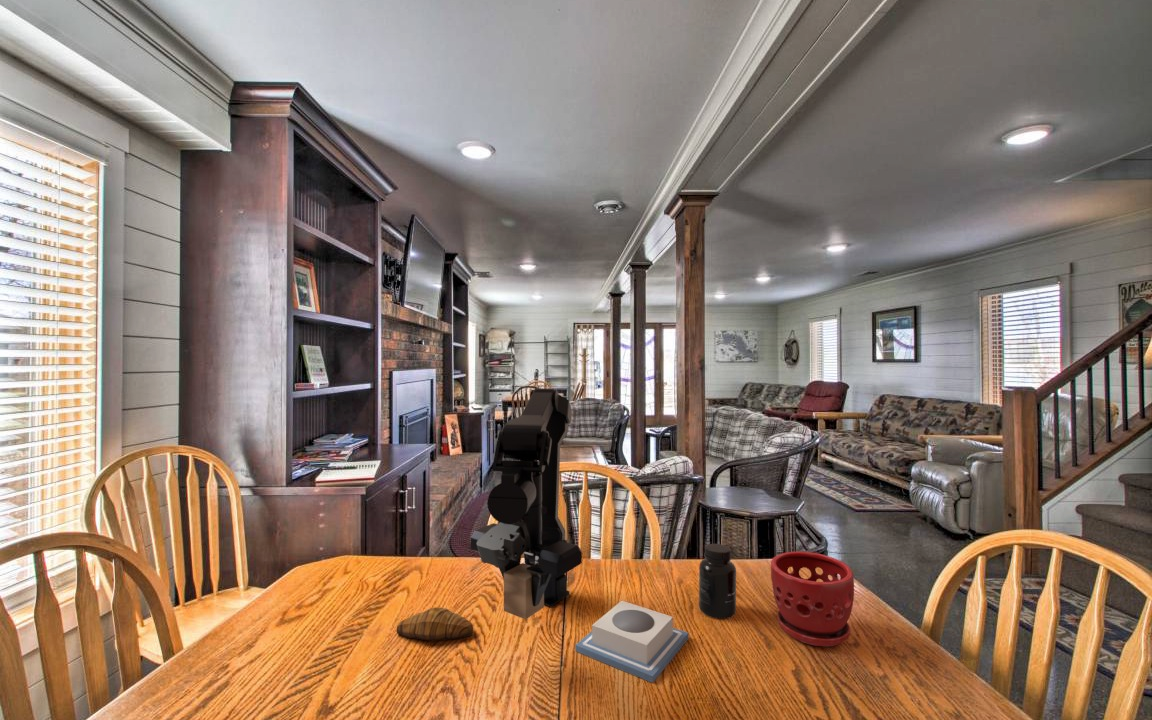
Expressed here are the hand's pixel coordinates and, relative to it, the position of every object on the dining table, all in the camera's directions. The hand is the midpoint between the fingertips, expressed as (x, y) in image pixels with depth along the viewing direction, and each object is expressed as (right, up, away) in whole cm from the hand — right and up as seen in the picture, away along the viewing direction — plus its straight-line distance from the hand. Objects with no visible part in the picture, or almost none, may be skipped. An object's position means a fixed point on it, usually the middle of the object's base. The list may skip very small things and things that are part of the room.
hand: (524, 601), depth 78 cm
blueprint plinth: (+18, -10, +5) cm, 21 cm away
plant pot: (+49, -10, +8) cm, 51 cm away
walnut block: (0, -1, 0) cm, 1 cm away
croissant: (-17, -10, +8) cm, 21 cm away
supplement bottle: (+35, -10, +16) cm, 40 cm away
